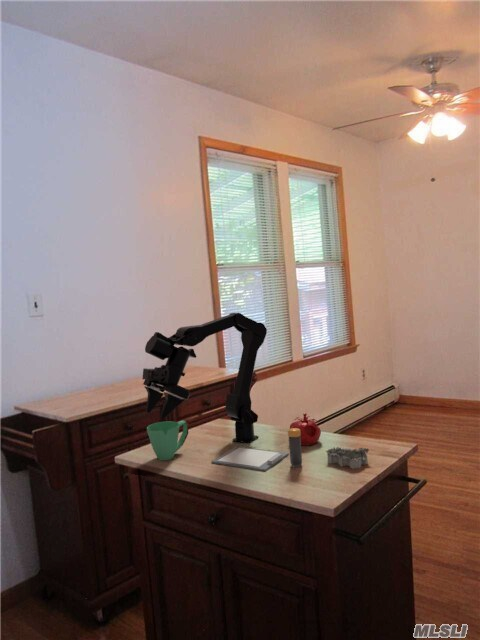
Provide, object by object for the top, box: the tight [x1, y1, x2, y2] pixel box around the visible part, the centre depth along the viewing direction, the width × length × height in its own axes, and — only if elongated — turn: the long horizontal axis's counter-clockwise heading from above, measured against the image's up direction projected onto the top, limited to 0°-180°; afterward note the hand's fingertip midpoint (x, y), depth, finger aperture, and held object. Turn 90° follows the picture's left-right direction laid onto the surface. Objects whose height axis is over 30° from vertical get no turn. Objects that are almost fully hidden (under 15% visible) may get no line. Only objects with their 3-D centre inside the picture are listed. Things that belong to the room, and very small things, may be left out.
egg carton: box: [325, 446, 370, 470], centre depth 136 cm, size 11×8×4 cm
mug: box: [146, 420, 189, 461], centre depth 153 cm, size 15×10×10 cm
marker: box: [287, 428, 303, 468], centre depth 136 cm, size 3×3×10 cm
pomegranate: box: [289, 412, 322, 446], centre depth 156 cm, size 10×10×9 cm
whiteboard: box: [211, 445, 290, 472], centre depth 145 cm, size 14×18×2 cm
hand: (154, 415), depth 145 cm, fingers open, 9 cm apart
